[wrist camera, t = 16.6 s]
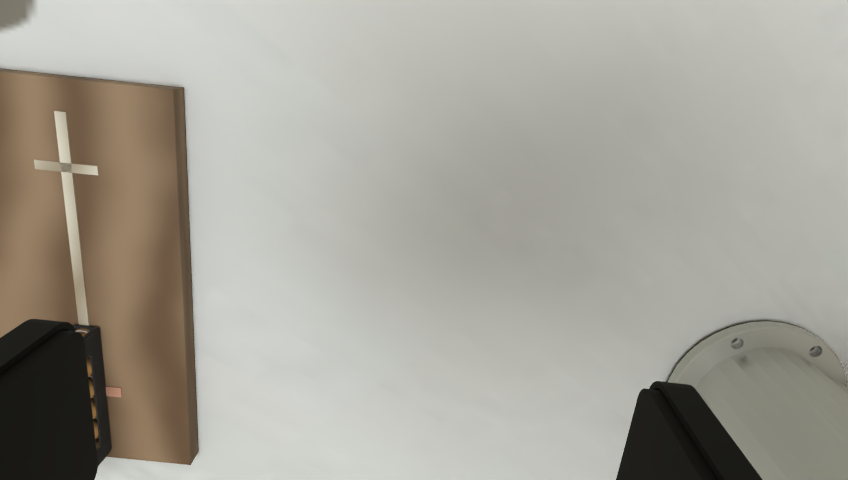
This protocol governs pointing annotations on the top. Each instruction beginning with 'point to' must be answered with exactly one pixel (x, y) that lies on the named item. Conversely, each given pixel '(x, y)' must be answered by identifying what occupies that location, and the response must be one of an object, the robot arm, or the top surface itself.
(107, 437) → the ammunition clip
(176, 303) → the walnut board
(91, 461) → the robot arm
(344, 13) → the top surface
